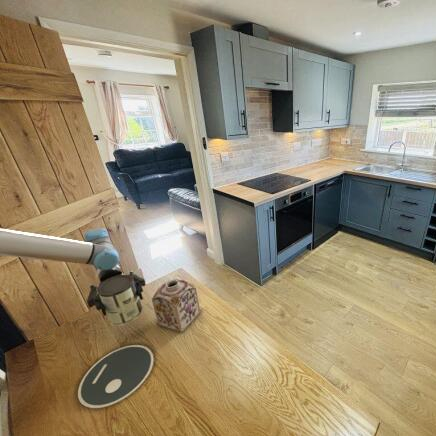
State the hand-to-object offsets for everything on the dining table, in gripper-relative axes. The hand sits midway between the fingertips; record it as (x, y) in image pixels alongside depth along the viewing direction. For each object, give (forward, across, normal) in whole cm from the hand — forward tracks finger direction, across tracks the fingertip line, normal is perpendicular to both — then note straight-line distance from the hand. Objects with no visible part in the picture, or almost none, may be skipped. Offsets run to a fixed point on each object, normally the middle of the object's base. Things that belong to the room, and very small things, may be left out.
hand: (123, 304), depth 80 cm
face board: (+10, +7, -18) cm, 22 cm away
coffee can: (-4, 0, -8) cm, 9 cm away
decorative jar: (0, -16, -18) cm, 24 cm away
